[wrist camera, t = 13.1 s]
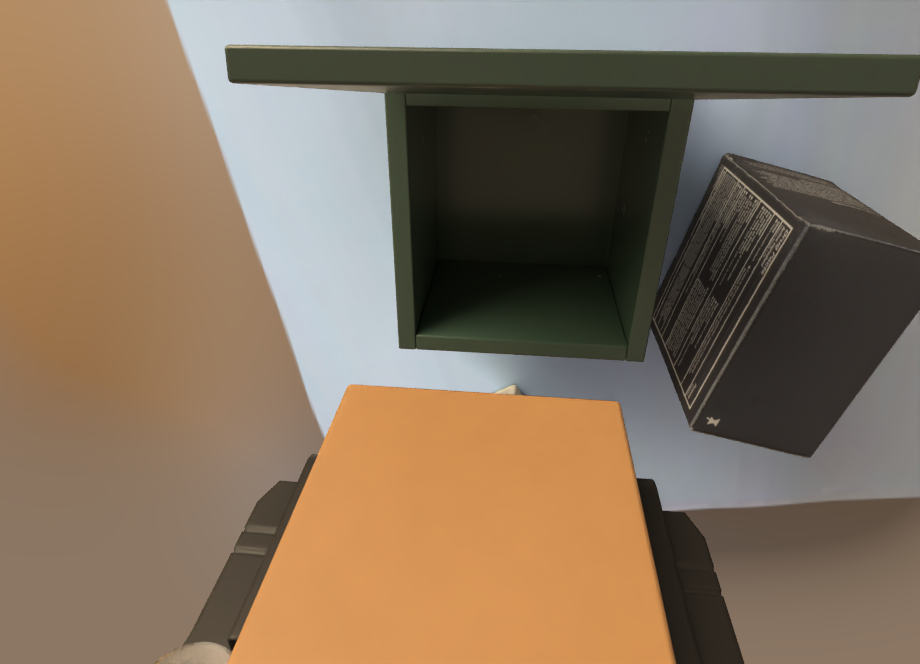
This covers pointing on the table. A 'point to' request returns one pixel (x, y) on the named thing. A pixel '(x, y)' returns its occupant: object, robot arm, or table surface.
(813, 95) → the bin lid
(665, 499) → the table surface
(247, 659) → the carton
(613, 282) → the bin
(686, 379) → the small box
